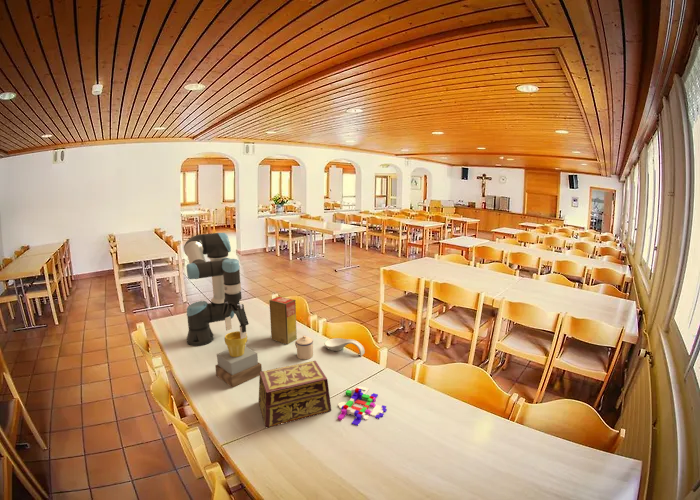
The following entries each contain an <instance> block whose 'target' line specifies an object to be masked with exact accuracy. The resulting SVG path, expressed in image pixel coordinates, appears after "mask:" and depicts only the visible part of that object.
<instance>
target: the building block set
mask: <svg viewBox="0 0 700 500" xmlns="http://www.w3.org/2000/svg"><path fill="white" fill-rule="evenodd" d="M369 390H370V388H368V387H365V386H362V385H358V387H353V388H351V389H350V390H349V389H347V390H345V393H344V394H345V396H347V395H348V397H349V396H351V397H350V399H349V400H348V401H347V402H346V401H342V402H341V401H340V402H339V403H338V404H337V407H338V406H339V407H338V409H339V410H340V411H341V412H340V414H339V415H338V416H337V420H338V419H339V421H341V420H342V419H343V420H344V419H345V418H346V416H347V415H349V414H351V415H352V416H354V417H355V418H354V419H353V420H352V422H351V425H353V424H354V425H353V426H356V425H357V426H356V427H358V426H359V425H358V424H361V422H362V419H361V418H364V419H365V420H364V419H363V420H364V421H368V420H369V417H370V416H371V415H372V417H374V418H375V419H377V418H378V419H377V420H380V418H383V417H384V416H383V415H385V413H386V412H387V411H388V410H387V406H386V405H383V404H382V405H379V404H375V403H376V400H377V398H378V397H379V394H378V393H374V392H373V393H371V394H370V395H369V394H367V393H368V392H369ZM362 391H363V392H362ZM361 399H362V400H361ZM364 400H365V401H364ZM373 402H375V403H373ZM354 403H355V404H356V403H357V404H356V405H360V404H361V405H360V406H363V405H364V406H363V407H359V406H355V404H354ZM372 407H373V408H372ZM369 408H372V410H370V409H369ZM365 413H366V414H365ZM368 414H369V415H368ZM345 415H346V416H345ZM351 415H350V416H351ZM367 419H368V420H367ZM343 420H342V421H343Z"/></svg>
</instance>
